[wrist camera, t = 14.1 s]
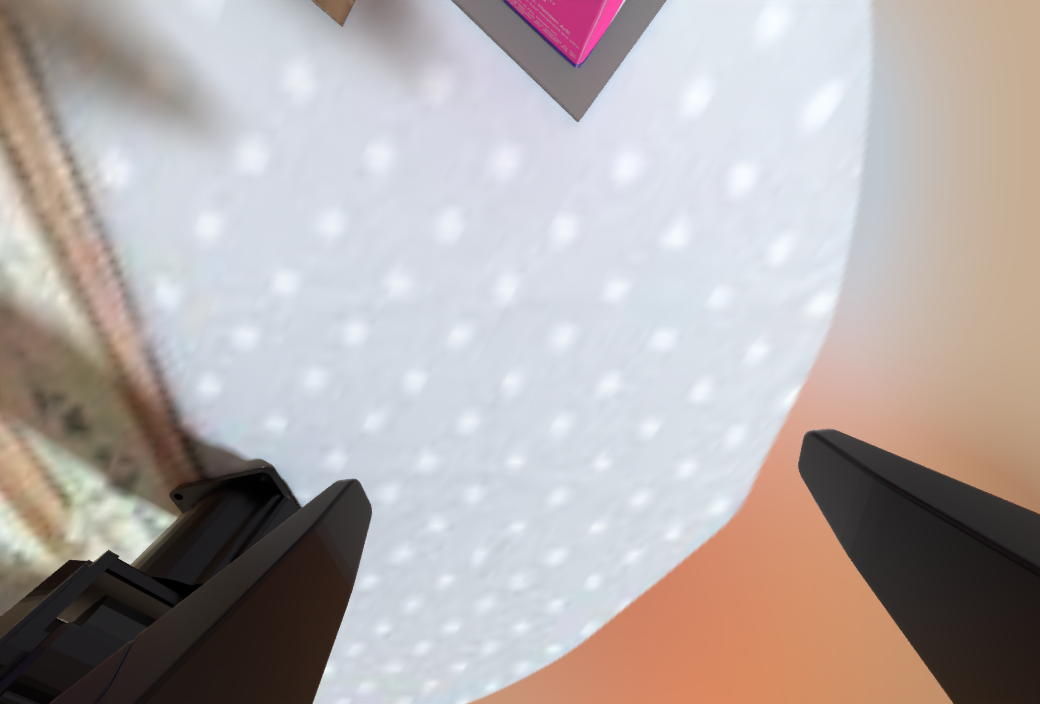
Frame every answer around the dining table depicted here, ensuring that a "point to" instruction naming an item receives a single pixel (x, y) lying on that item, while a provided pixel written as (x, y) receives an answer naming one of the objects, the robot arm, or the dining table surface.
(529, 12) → the supplement box
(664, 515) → the dining table surface
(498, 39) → the gray mat
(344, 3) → the walnut crate
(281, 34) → the dining table surface
